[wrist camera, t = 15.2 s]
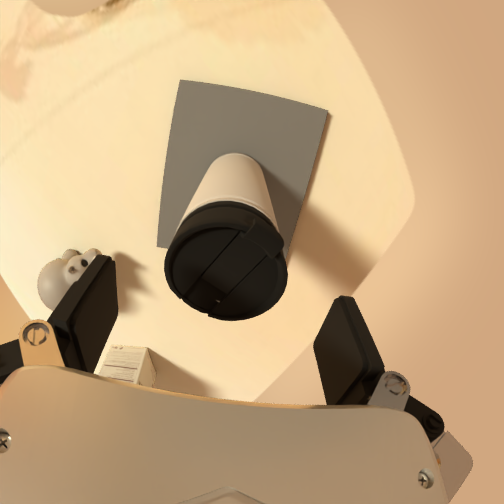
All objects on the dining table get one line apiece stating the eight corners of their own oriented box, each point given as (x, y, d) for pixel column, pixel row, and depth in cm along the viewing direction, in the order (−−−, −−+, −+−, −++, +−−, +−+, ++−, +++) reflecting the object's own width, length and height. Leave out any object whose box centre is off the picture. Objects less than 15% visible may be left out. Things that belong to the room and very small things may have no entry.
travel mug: (277, 173, 31) (322, 271, 13) (239, 216, 33) (235, 348, 16) (232, 137, 29) (213, 188, 11) (195, 184, 31) (137, 291, 14)
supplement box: (157, 373, 48) (144, 431, 37) (121, 369, 48) (104, 424, 37) (148, 346, 44) (130, 408, 33) (109, 342, 44) (86, 400, 33)
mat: (181, 80, 26) (180, 79, 26) (326, 110, 28) (328, 110, 28) (158, 243, 36) (156, 246, 35) (281, 265, 38) (282, 269, 37)
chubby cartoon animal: (128, 264, 37) (106, 302, 29) (77, 293, 39) (53, 329, 32) (98, 221, 34) (67, 252, 26) (49, 258, 36) (20, 289, 29)
